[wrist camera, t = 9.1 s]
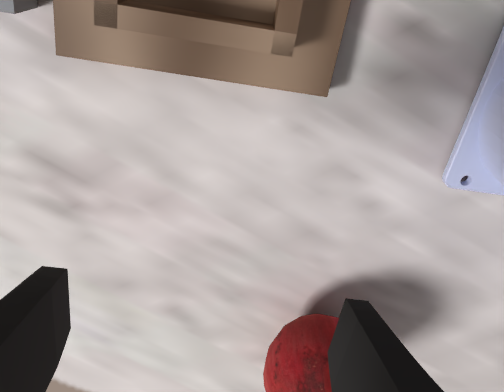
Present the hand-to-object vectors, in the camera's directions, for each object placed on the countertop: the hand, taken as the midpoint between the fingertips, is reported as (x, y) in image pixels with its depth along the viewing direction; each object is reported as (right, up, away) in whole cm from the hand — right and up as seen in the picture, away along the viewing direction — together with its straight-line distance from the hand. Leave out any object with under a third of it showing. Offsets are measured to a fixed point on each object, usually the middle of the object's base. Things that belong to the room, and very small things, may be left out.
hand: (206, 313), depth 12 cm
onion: (+5, -4, +15) cm, 16 cm away
